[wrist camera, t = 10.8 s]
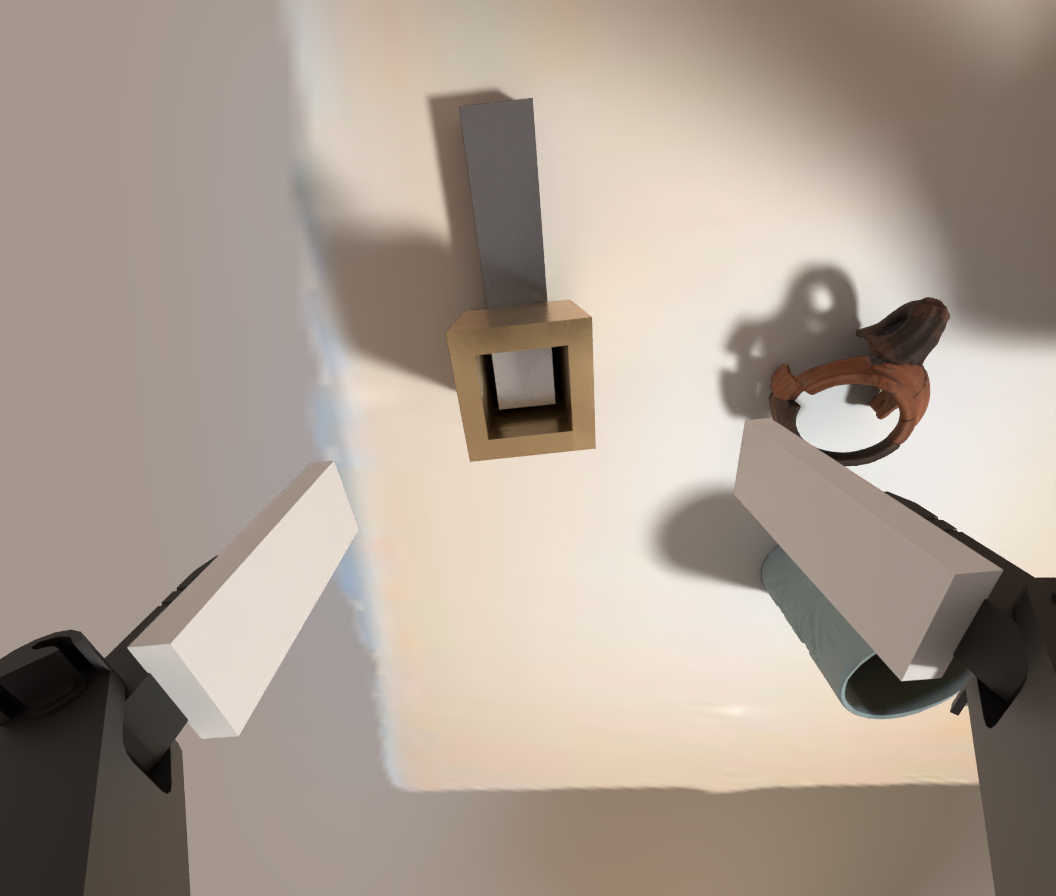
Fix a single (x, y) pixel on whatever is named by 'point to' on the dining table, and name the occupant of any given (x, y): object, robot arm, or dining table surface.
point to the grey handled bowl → (509, 236)
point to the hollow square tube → (532, 425)
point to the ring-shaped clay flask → (874, 376)
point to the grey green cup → (850, 650)
